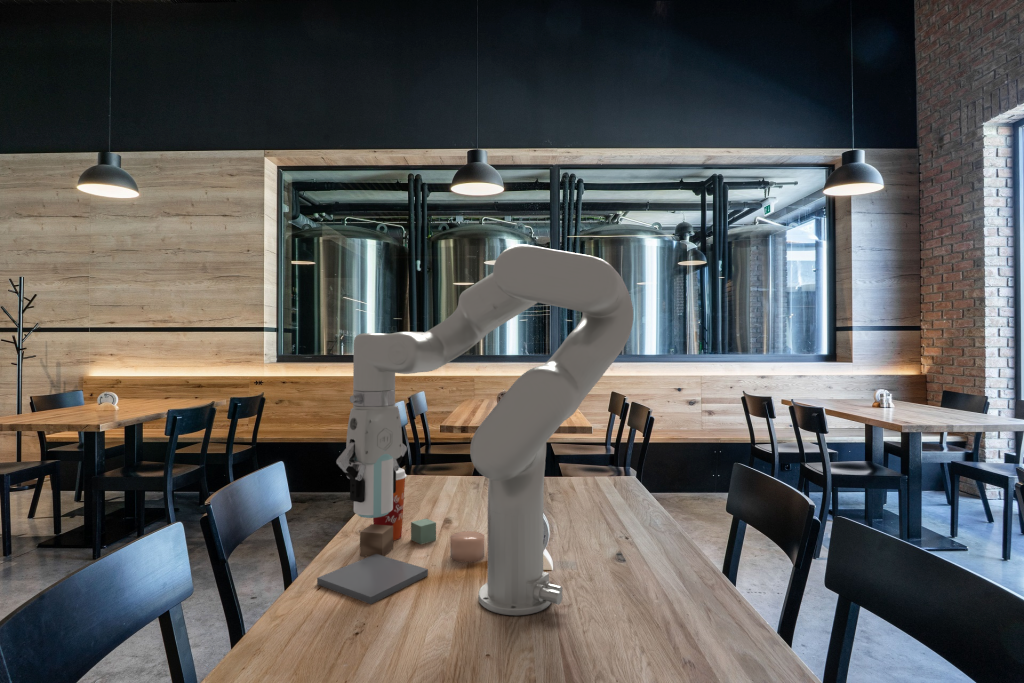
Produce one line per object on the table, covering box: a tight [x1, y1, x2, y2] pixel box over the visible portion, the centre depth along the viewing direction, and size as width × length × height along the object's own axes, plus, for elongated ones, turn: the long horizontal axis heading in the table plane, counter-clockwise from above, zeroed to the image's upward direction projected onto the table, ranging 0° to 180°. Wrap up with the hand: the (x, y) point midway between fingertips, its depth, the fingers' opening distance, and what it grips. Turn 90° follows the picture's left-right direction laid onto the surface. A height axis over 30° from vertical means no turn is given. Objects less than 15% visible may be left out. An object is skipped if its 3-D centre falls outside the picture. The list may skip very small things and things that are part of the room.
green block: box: [410, 518, 437, 545], centre depth 123 cm, size 4×4×4 cm
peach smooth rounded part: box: [449, 530, 486, 563], centre depth 114 cm, size 7×7×4 cm
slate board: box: [316, 554, 429, 605], centre depth 102 cm, size 14×14×1 cm
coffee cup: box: [372, 467, 407, 542], centre depth 125 cm, size 8×8×15 cm
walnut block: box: [359, 523, 394, 557], centre depth 116 cm, size 5×5×5 cm
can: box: [353, 450, 393, 519], centre depth 102 cm, size 7×7×12 cm
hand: (373, 495), depth 102 cm, fingers closed on can, 6 cm apart
